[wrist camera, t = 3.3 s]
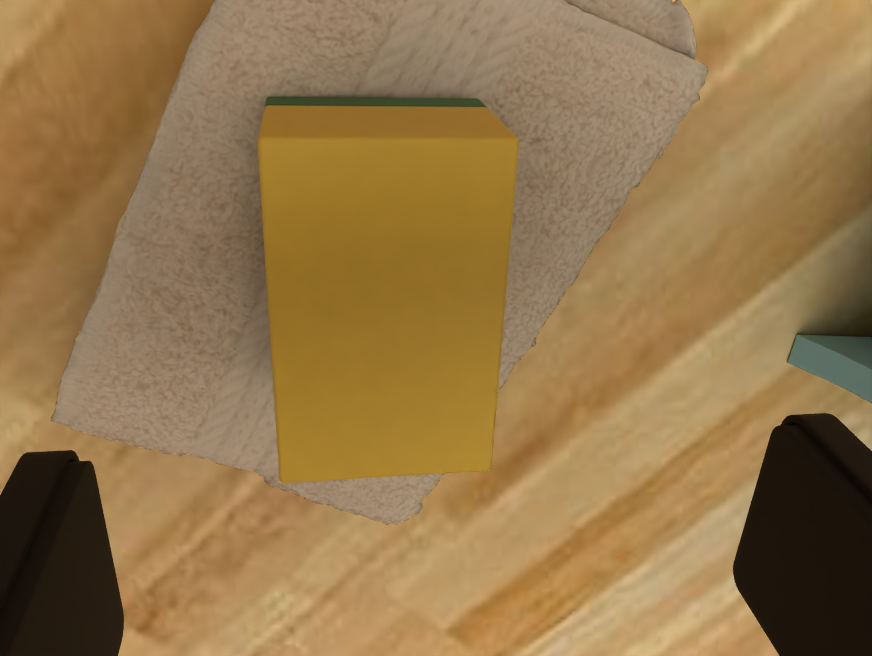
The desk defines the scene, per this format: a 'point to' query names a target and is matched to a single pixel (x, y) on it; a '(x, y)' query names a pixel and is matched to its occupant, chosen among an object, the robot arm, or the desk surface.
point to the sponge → (385, 281)
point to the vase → (837, 360)
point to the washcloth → (242, 213)
